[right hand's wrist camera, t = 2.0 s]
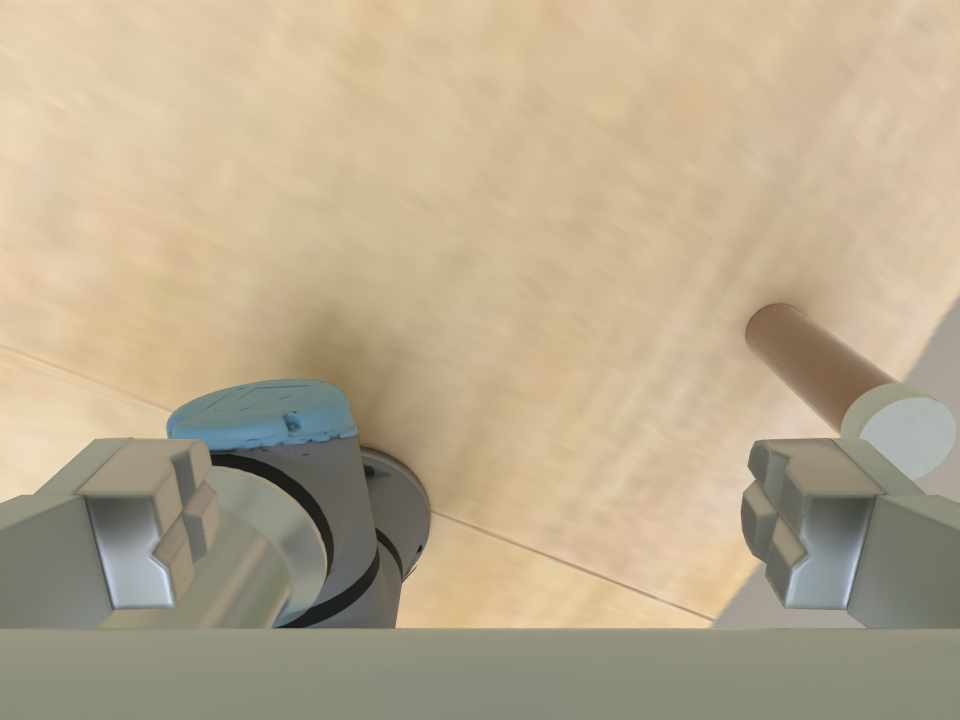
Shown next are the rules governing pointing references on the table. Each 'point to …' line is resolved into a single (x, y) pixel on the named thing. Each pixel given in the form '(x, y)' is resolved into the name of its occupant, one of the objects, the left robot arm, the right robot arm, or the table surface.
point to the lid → (903, 427)
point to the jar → (812, 362)
